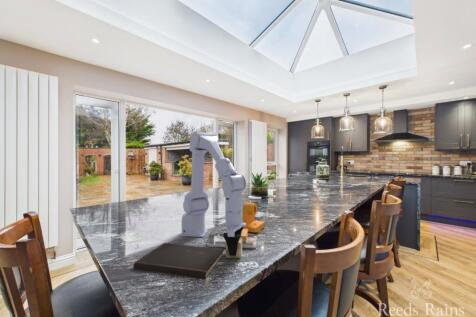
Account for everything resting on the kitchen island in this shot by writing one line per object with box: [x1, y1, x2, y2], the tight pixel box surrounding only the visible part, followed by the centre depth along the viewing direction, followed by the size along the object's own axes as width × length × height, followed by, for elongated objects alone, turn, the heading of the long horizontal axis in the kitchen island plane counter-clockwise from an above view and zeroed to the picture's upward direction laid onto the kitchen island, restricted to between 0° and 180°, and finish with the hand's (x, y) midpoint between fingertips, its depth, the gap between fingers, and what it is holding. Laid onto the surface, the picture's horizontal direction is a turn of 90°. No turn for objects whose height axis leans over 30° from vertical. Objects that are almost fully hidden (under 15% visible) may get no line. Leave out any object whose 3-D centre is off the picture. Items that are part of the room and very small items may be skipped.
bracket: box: [242, 202, 265, 233], centre depth 101 cm, size 11×7×12 cm, turn 151°
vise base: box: [206, 227, 258, 249], centre depth 86 cm, size 18×10×4 cm, turn 83°
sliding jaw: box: [241, 229, 249, 242], centre depth 85 cm, size 2×8×3 cm, turn 173°
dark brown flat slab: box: [133, 242, 225, 280], centre depth 71 cm, size 16×23×2 cm
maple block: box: [225, 238, 243, 259], centre depth 75 cm, size 5×4×5 cm
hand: (234, 250), depth 75 cm, fingers open, 6 cm apart
